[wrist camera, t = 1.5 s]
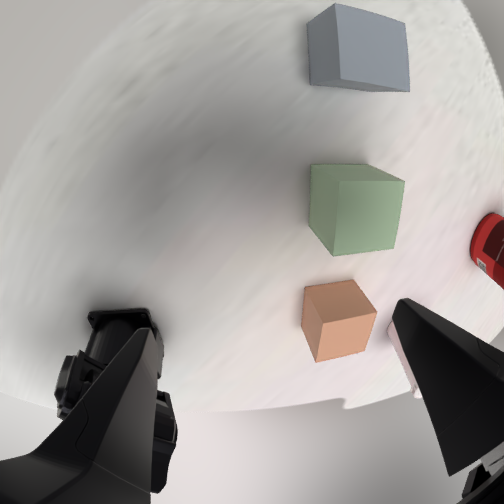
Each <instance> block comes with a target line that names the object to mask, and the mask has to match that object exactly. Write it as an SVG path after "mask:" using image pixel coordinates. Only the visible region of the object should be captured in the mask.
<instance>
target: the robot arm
mask: <svg viewBox="0 0 504 504" xmlns="http://www.w3.org/2000/svg"><path fill="white" fill-rule="evenodd" d="M143 314H145V315H143ZM92 317H93V318H92ZM87 318H88V320H89V322H90V324H91V326H92V328H93V331H92V334H91V337H90V339H89V342H88V345H87V348H86V350H85V352H83V351H81V350H79V352H78V353H77V355H76V356H74V355H73V356H66V357H65V360H64V362H63V365H62V368H61V370H60V373H59V376H58V380H57V384H56V388H55V392H54V395H55V397H56V400H57V402H58V403H57V408H58V411H57V417H58V418H60V419H62V420H63V421H62V422H61V423H60V425H59V426H58V427H57V428H56V429H55V430H54V431H53V432H52V433H51V434H50V435H49V436H48V437H47V438H46V439H45V440H44V441H43V442H42V443H41V444H40V445H39V446H38V447H37V448H36V449H35V450H34V451H32V452H31V453H29V454H26V455H23V456H19V457H15V458H11V459H6V460H2V461H0V504H150V503H151V501H150V500H151V497H150V496H151V495H150V492H152V493H157V494H158V493H159V492H161V490H162V489H163V488H164V486H165V485H166V481H167V472H168V466H169V462H170V459H171V455H172V453H173V451H174V449H175V447H176V441H177V433H178V430H177V424H176V420H175V416H174V412H173V408H172V404H171V399H170V395H169V393H166V392H164V391H163V392H161V391H159V390H157V379H160V377H161V371H162V361H163V357H164V345H163V342H162V340H161V337H160V334H159V332H158V329H156V328H154V325H153V322H152V319H151V316H150V313H149V312H148V311H147V310H146V309H135V310H120V311H102V312H90V313H89V314H88V317H87ZM392 319H393V323H394V326H395V329H396V331H397V334H398V337H399V340H400V343H401V346H402V349H403V352H404V354H405V357H406V359H407V361H408V363H409V366H410V368H411V370H412V373H413V375H414V377H415V380H416V382H417V385H418V387H419V390H420V392H421V395H422V397H423V400H424V402H425V405H426V407H427V410H428V413H429V416H430V418H431V421H432V424H433V427H434V429H435V433H436V436H437V439H438V442H439V445H440V448H441V452H442V455H443V458H444V462H445V465H446V468H447V472H448V475H449V476H452V475H453V474H455V473H457V472H459V471H460V470H462V469H464V468H465V467H467V466H469V465H471V464H472V463H474V462H475V461H477V460H478V459H481V461H482V463H480V464H479V465H478V466H477V467H475V468H474V469H473V470H471V471H470V472H469V475H468V478H467V481H466V484H465V487H464V490H463V493H462V498H463V499H462V500H461V501H460V502H458V503H457V504H504V352H502V351H500V350H499V349H497V348H494V347H493V346H491V345H489V344H488V343H486V342H484V341H482V340H481V339H479V338H477V337H476V336H474V335H472V334H471V333H469V332H467V331H466V330H464V329H462V328H460V327H459V326H457V325H455V324H454V323H452V322H450V321H448V320H447V319H445V318H443V317H441V316H440V315H438V314H436V313H434V312H433V311H431V310H429V309H427V308H425V307H424V306H422V305H420V304H418V303H416V302H415V301H413V300H411V299H409V298H404V299H400V300H399V301H398V302H397V305H396V307H395V310H394V313H393V316H392Z"/></svg>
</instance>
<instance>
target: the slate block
mask: <svg viewBox="0 0 504 504" xmlns="http://www.w3.org/2000/svg"><path fill="white" fill-rule="evenodd" d="M307 35H308V51H309V70H310V85H318V86H329V87H339V88H347V89H355V90H362V91H369V92H410V77H409V58H408V46H407V36H406V28H405V23H403V22H400V21H397V20H394V19H392V18H389V17H386V16H382V15H379V14H376V13H373V12H369V11H366V10H362V9H358V8H354V7H350V6H346V5H341V4H336V3H334V4H333V5H332V6H330V7H329V8H327V9H326V10H325V11H323V12H322V13H320V14H319V15H318V16H316V17H315V18H314V19H312V20H311V21H310V22H309V23H307Z"/></svg>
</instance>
